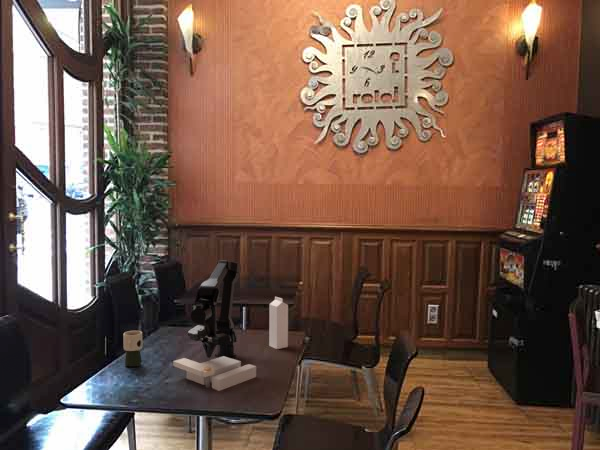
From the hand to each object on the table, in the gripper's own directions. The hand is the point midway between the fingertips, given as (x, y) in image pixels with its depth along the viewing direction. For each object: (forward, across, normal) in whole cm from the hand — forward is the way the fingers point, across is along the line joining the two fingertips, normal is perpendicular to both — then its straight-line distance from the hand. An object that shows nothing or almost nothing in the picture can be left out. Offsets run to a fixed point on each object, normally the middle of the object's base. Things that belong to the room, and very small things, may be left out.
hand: (209, 357), depth 201 cm
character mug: (+5, -26, -16) cm, 31 cm away
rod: (+5, +11, 0) cm, 12 cm away
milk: (+5, -1, +40) cm, 40 cm away
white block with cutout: (+5, +9, -2) cm, 11 cm away
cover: (+1, +5, -11) cm, 12 cm away
